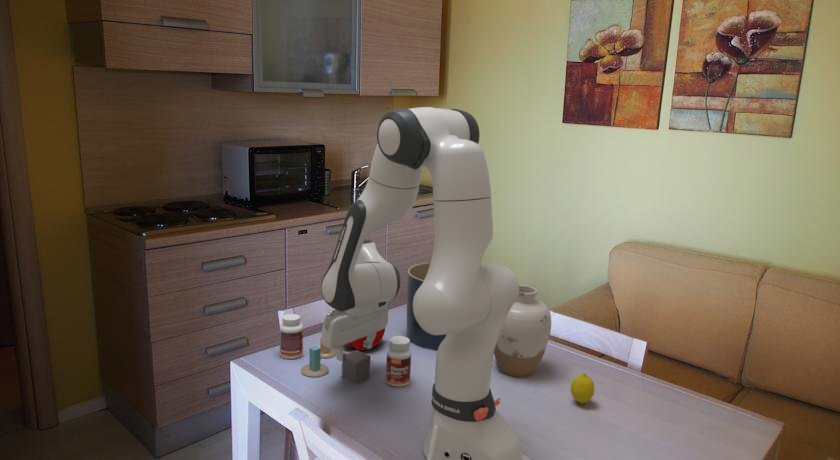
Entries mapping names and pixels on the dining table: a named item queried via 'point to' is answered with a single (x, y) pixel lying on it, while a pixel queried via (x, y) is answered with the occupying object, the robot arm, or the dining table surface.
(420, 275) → the planter
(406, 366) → the pill bottle
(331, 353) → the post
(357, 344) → the tomato
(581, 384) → the fruit
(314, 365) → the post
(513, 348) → the vase
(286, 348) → the pill bottle
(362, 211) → the robot arm
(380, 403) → the dining table surface
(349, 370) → the charcoal tapered box
